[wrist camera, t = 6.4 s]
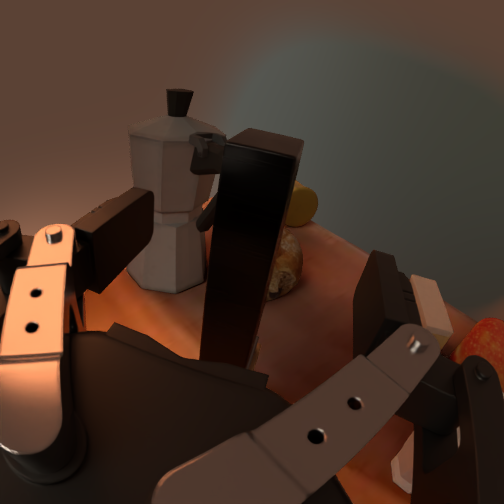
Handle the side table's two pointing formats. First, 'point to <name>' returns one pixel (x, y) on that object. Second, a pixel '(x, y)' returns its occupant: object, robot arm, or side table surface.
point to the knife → (246, 240)
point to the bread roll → (286, 266)
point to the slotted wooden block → (431, 309)
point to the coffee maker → (175, 193)
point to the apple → (484, 345)
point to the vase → (301, 206)
